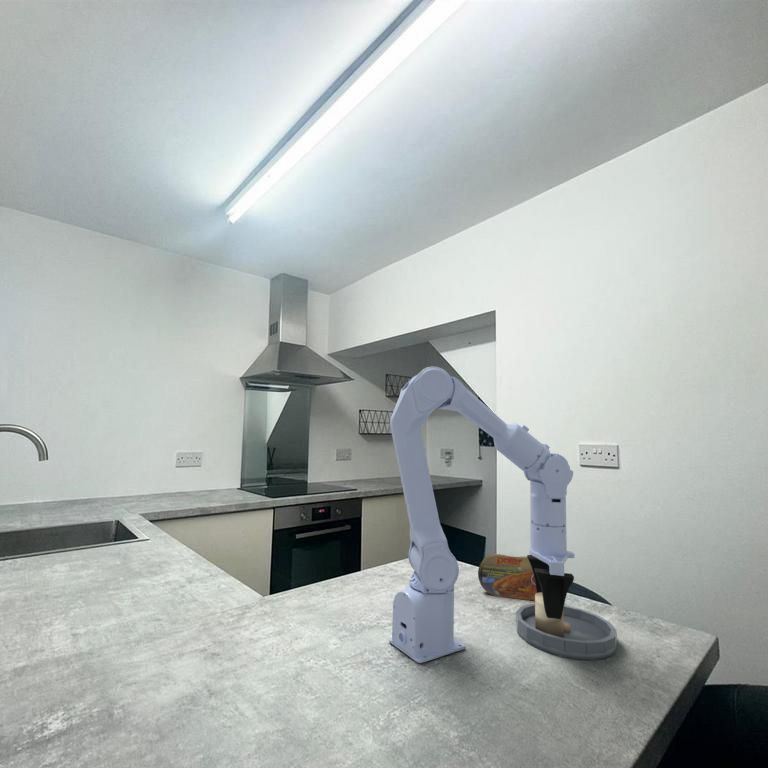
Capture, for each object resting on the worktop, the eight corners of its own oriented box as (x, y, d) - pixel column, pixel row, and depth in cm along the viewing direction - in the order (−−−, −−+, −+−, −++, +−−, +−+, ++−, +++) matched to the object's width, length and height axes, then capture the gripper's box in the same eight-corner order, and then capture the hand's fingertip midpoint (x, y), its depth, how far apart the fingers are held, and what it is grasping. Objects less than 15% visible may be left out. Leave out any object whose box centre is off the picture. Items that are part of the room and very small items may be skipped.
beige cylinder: (552, 644, 66) (552, 603, 67) (529, 633, 70) (529, 594, 71) (569, 638, 69) (568, 599, 69) (546, 627, 72) (546, 590, 73)
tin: (477, 594, 90) (478, 553, 91) (478, 589, 93) (478, 549, 94) (552, 603, 86) (552, 560, 87) (550, 598, 89) (550, 557, 90)
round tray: (581, 670, 61) (580, 651, 61) (497, 628, 73) (497, 613, 74) (635, 645, 69) (634, 628, 69) (551, 611, 82) (551, 598, 82)
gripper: (584, 534, 64) (586, 630, 62) (563, 518, 78) (564, 595, 76) (536, 530, 65) (536, 624, 63) (523, 515, 79) (524, 591, 77)
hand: (549, 608), depth 70 cm, fingers open, 7 cm apart
